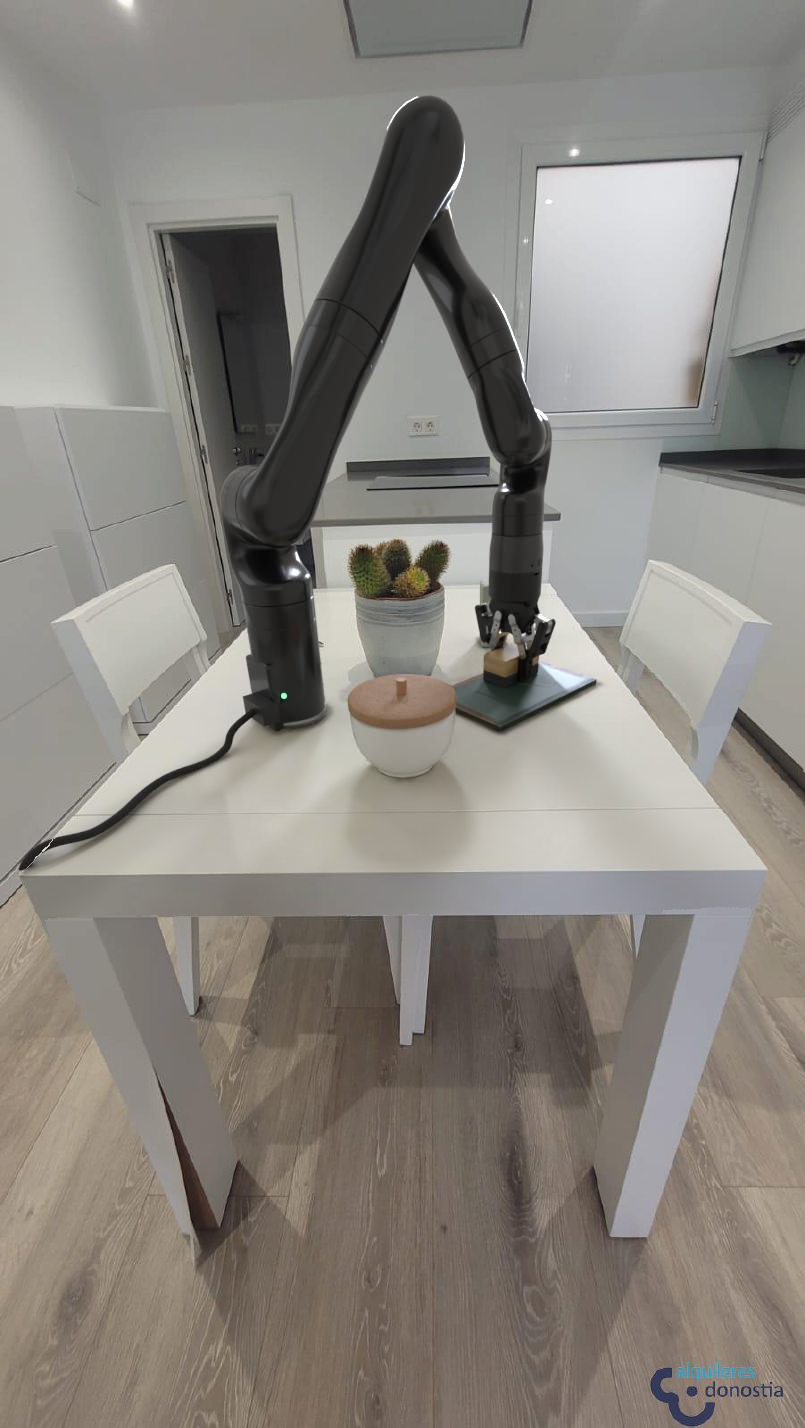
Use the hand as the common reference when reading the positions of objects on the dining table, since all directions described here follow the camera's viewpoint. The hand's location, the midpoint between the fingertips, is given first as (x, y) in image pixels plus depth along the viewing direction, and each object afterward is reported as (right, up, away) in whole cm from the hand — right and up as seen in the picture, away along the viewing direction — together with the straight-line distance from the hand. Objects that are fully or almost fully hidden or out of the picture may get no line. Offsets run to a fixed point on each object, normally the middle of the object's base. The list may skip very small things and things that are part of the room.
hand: (510, 674), depth 92 cm
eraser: (0, 0, 0) cm, 0 cm away
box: (0, +7, +17) cm, 18 cm away
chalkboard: (0, -3, -3) cm, 4 cm away
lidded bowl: (-17, -12, -20) cm, 29 cm away
